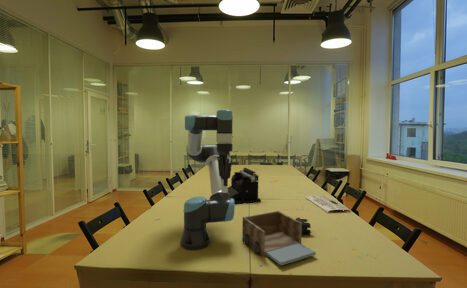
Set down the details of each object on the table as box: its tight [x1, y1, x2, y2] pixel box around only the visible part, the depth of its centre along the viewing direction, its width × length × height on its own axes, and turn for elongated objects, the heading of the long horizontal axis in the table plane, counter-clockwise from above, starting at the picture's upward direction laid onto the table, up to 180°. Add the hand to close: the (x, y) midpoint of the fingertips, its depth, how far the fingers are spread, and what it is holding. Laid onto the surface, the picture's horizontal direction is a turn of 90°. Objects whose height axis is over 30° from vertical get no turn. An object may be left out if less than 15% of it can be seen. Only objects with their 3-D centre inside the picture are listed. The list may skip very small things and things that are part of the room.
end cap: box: [294, 217, 312, 236], centre depth 133 cm, size 10×7×7 cm
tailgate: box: [266, 243, 317, 266], centre depth 106 cm, size 2×20×11 cm
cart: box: [241, 210, 302, 257], centre depth 120 cm, size 20×26×12 cm
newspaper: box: [305, 195, 352, 214], centre depth 183 cm, size 37×19×3 cm, turn 7°
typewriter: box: [227, 167, 262, 205], centre depth 200 cm, size 31×27×25 cm
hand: (224, 192), depth 109 cm, fingers closed
